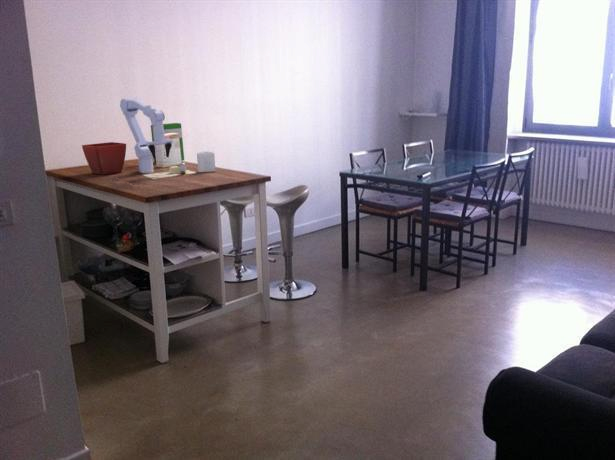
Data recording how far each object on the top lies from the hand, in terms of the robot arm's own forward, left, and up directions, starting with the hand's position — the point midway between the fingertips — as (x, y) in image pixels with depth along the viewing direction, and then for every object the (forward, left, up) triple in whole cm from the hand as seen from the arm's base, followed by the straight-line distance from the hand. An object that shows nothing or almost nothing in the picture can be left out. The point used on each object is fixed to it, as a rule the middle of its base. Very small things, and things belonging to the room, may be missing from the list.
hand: (161, 157), depth 336 cm
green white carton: (-52, +24, -10) cm, 58 cm away
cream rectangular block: (+2, +8, -9) cm, 12 cm away
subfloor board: (+3, +3, -10) cm, 11 cm away
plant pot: (-35, -21, -10) cm, 42 cm away
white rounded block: (+8, +23, -10) cm, 27 cm away
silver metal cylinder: (+9, +9, -9) cm, 15 cm away
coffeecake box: (-34, +17, -10) cm, 39 cm away
